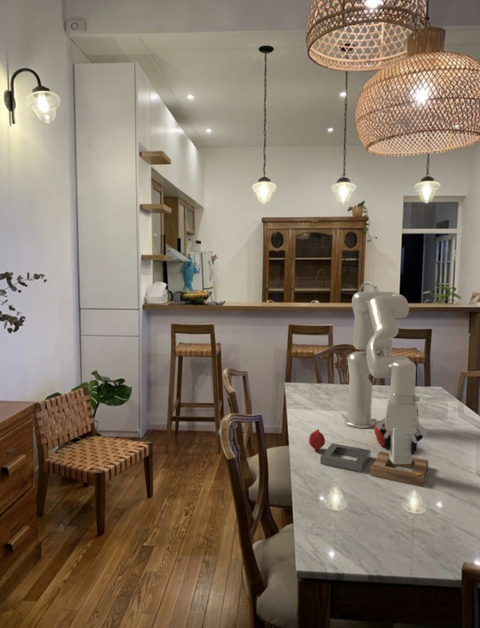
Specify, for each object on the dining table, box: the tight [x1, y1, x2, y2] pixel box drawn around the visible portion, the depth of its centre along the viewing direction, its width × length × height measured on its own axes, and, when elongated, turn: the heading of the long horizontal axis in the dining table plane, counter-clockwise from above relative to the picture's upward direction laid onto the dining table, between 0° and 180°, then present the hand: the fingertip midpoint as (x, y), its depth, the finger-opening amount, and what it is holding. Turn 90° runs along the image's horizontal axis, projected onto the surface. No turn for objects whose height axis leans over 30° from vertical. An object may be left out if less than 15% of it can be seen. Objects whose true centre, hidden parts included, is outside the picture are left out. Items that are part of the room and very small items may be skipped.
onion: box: [308, 428, 326, 451], centre depth 167 cm, size 6×6×8 cm
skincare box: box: [389, 428, 413, 464], centre depth 149 cm, size 6×4×12 cm
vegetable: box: [373, 420, 390, 447], centre depth 171 cm, size 11×10×10 cm
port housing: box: [369, 451, 429, 487], centre depth 149 cm, size 16×16×3 cm
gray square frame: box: [319, 442, 372, 473], centre depth 158 cm, size 14×14×2 cm
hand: (400, 450), depth 149 cm, fingers closed on skincare box, 7 cm apart
